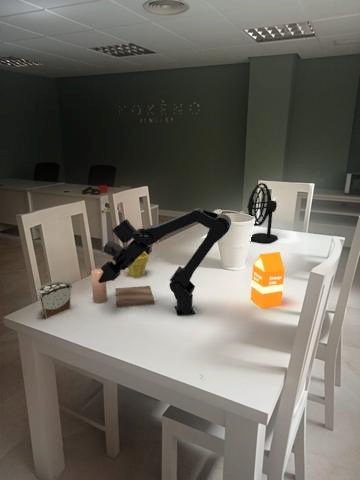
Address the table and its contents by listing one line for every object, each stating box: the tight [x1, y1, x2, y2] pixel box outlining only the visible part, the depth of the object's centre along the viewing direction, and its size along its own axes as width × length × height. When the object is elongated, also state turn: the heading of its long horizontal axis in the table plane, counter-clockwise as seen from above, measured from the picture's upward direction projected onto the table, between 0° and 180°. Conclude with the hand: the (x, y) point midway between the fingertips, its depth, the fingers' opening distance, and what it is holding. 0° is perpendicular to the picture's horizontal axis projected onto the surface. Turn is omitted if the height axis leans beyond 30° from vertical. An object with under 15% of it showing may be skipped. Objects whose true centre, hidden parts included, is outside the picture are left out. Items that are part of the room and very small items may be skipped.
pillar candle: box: [90, 268, 108, 304], centre depth 131 cm, size 5×5×12 cm
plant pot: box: [127, 252, 149, 278], centre depth 157 cm, size 10×10×10 cm
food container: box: [37, 280, 73, 320], centre depth 122 cm, size 12×6×10 cm, turn 141°
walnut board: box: [114, 285, 155, 308], centre depth 135 cm, size 14×14×2 cm
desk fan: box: [246, 182, 279, 244], centre depth 215 cm, size 27×18×35 cm, turn 143°
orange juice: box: [250, 251, 285, 309], centre depth 129 cm, size 8×9×20 cm
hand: (104, 277), depth 129 cm, fingers open, 9 cm apart
